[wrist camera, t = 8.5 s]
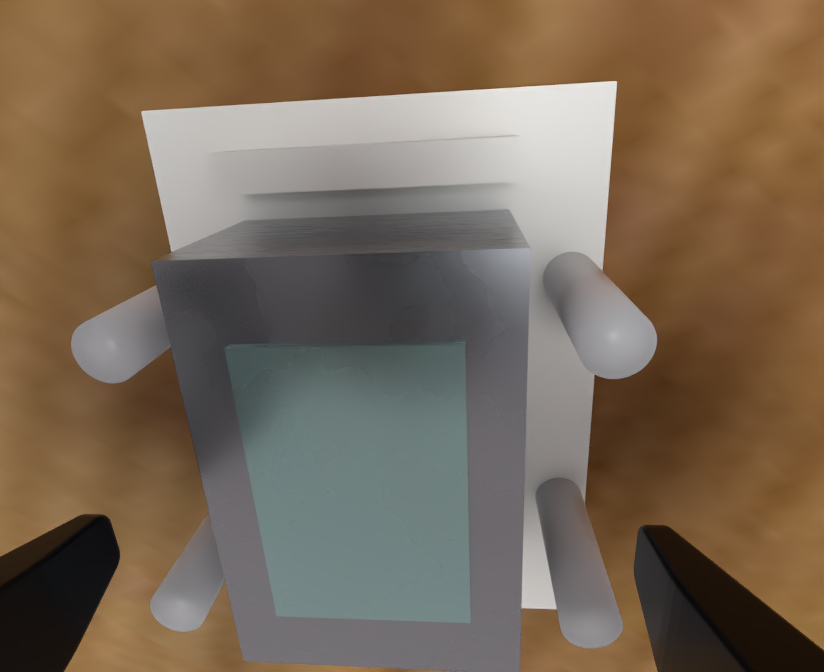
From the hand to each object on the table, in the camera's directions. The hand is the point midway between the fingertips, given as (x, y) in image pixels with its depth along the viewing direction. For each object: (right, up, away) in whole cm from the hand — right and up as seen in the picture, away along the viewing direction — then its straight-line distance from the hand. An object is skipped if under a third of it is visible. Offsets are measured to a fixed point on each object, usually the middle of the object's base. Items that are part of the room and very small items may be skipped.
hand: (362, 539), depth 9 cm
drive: (0, +2, +5) cm, 5 cm away
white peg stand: (0, +2, +6) cm, 6 cm away
